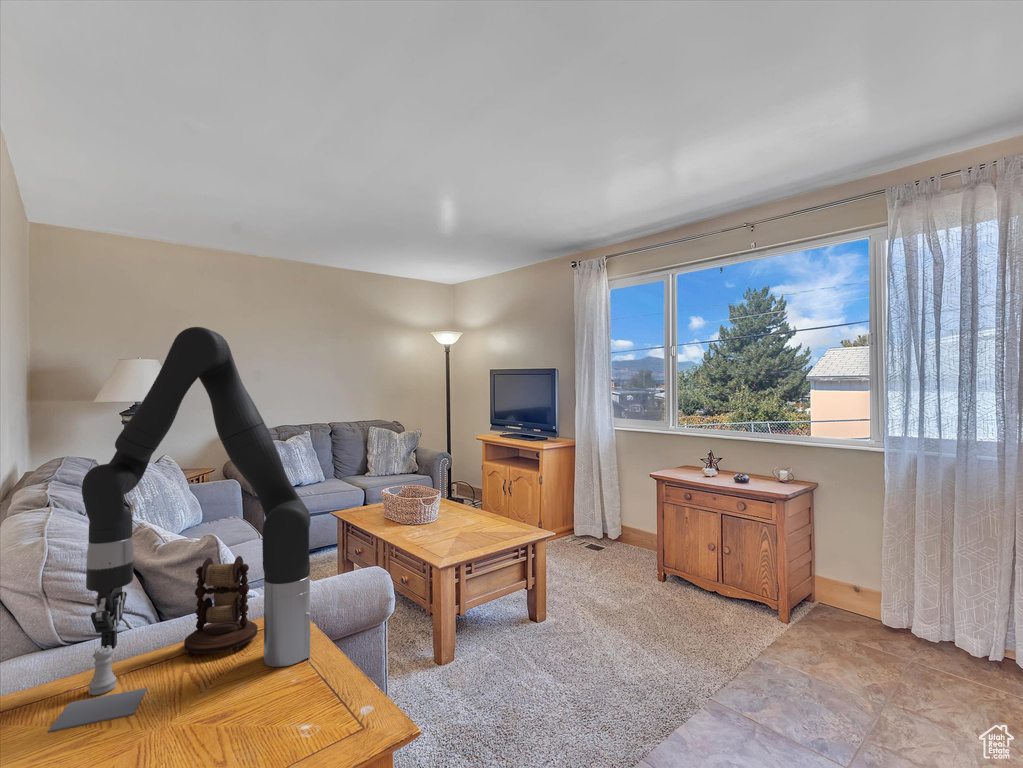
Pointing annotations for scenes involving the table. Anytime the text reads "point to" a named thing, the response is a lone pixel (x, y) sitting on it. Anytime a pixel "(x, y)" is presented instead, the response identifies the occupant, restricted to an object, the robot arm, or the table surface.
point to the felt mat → (99, 709)
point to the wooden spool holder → (221, 609)
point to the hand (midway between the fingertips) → (109, 648)
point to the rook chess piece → (102, 672)
